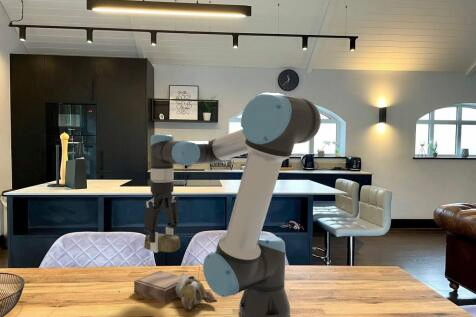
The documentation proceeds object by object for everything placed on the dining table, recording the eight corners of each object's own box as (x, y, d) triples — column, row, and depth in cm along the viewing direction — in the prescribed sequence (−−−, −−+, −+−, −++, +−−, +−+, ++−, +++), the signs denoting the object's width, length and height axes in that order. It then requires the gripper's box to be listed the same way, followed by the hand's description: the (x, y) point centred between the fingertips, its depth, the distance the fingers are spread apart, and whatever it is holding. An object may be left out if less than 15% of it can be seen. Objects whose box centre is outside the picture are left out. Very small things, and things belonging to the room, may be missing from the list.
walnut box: (189, 290, 122) (189, 278, 122) (164, 303, 112) (164, 290, 112) (159, 281, 130) (159, 269, 129) (134, 292, 120) (134, 280, 119)
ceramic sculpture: (196, 265, 122) (219, 282, 109) (196, 289, 122) (218, 309, 110) (167, 271, 116) (188, 290, 103) (167, 297, 116) (187, 319, 104)
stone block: (172, 254, 116) (172, 238, 115) (142, 250, 119) (142, 235, 119) (181, 249, 121) (181, 234, 121) (152, 246, 125) (152, 231, 125)
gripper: (173, 178, 129) (173, 240, 130) (131, 182, 113) (131, 254, 114) (189, 179, 125) (189, 244, 126) (148, 184, 109) (148, 258, 110)
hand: (162, 249), depth 120 cm, fingers closed on stone block, 6 cm apart
